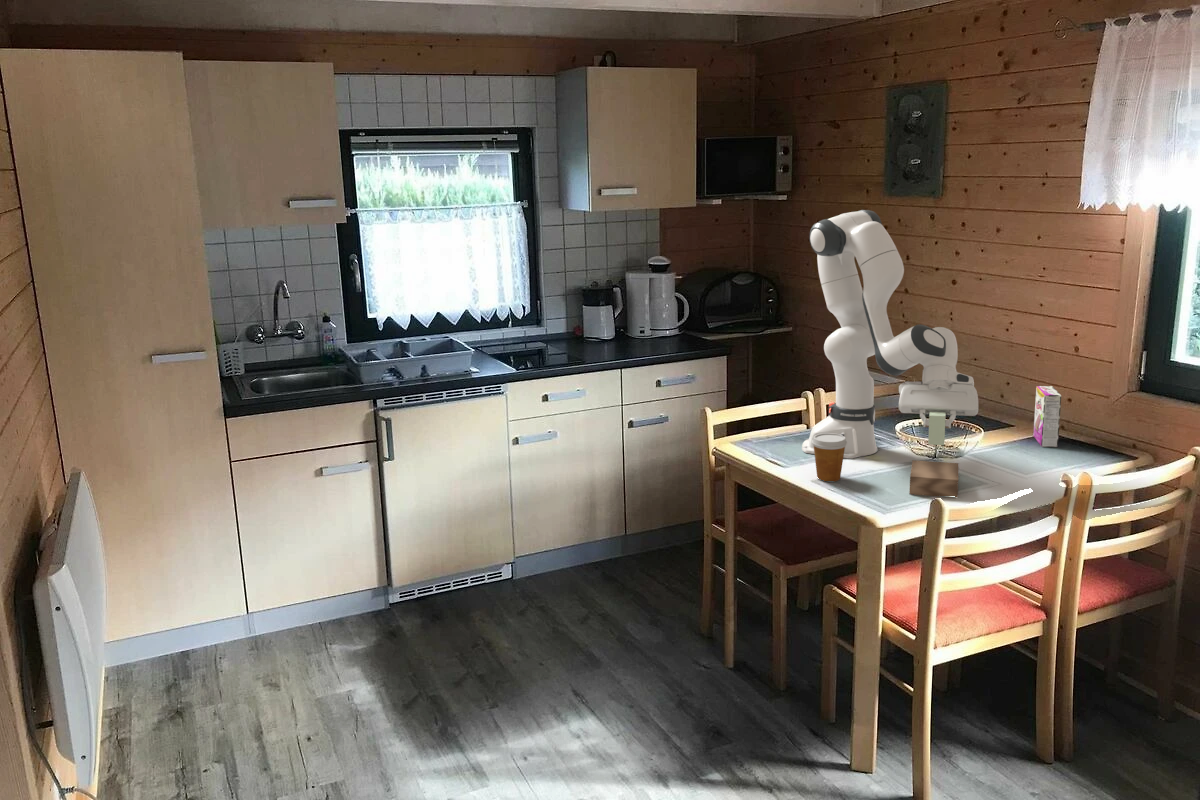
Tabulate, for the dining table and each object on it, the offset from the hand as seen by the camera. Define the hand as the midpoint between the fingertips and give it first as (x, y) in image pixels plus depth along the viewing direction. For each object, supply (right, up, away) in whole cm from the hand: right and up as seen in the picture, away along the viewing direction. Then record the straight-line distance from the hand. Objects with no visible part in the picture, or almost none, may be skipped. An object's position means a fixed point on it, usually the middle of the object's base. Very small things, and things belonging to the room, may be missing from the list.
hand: (937, 426), depth 252 cm
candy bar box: (+47, -6, +39) cm, 61 cm away
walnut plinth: (+1, -17, +5) cm, 17 cm away
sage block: (0, -4, +2) cm, 5 cm away
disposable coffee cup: (-25, -15, +16) cm, 33 cm away
